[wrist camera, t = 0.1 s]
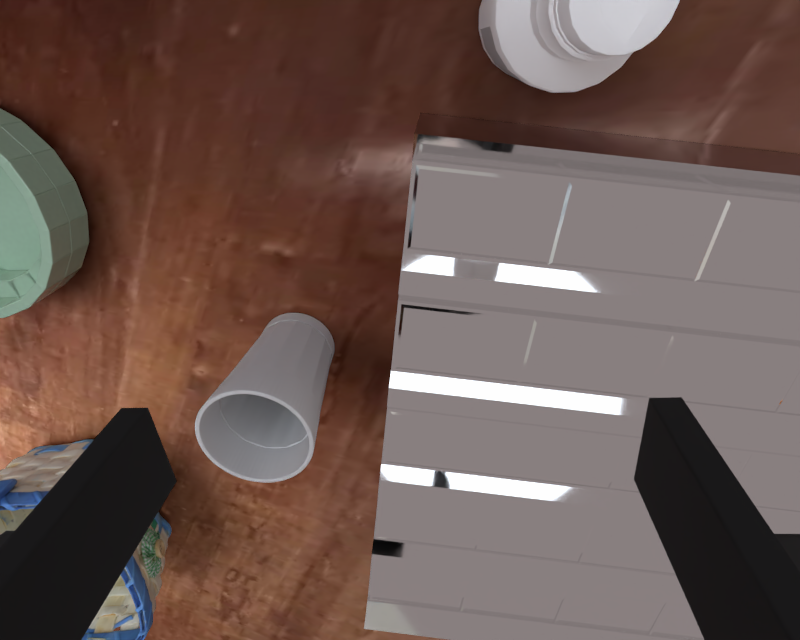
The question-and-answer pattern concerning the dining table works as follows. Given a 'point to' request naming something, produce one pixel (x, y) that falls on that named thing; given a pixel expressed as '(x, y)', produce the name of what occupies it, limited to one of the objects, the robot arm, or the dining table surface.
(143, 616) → the basket
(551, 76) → the white bottle
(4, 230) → the bowl
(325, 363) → the cup
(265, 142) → the dining table surface
